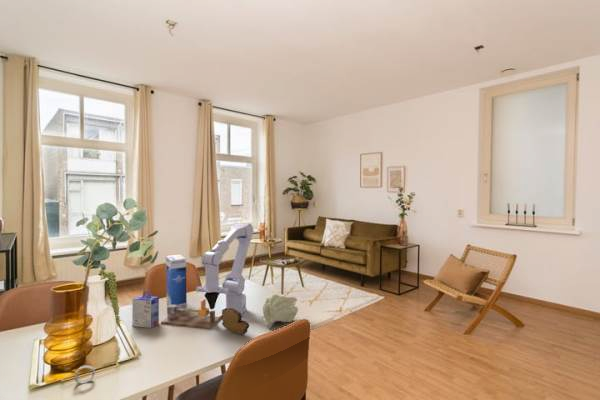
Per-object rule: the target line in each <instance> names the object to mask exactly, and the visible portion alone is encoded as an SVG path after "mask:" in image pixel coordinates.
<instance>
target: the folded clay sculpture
mask: <svg viewBox="0 0 600 400" xmlns="http://www.w3.org/2000/svg"><path fill="white" fill-rule="evenodd" d="M297 301H298V298H296V297H294V296H285V295H283V296H280V295H278V294H273V295H272V296H271V297H268V298H266V299H265V302H264V303H263V307H262V312H263V313H262V314H263V316H262V319H263V322H264V324H265V326H266V328H268V329H271V328H272V327H273V325H274V324H275V322H282V323H292V321H293V320H294V319H295V317H296V315H297V314H298V312H299V308H298V307H297V306H295V305H296V303H297Z"/></svg>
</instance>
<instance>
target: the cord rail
mask: <svg viewBox="0 0 600 400" xmlns="http://www.w3.org/2000/svg"><path fill="white" fill-rule="evenodd" d="M166 309H167V312H166V314H167V317H165V318H164V319H163V320H161V321H160V324H161V325H166V326H167V325H168V326H169V325H170V326H179V327H188V328H197V329H207V330H211V329H212V328H213V327H214V326H215V325H216V324H217V323H219V321H221V319H220V318H219V317H220V316H216V310H209V311H206V313H208V315H207V316H206V317H205V316H198V309H188V308H187V309H179V308H178V307H177V305H172V304H171V305H169V306H166ZM178 312H179V313H178ZM181 312H187V313H181ZM188 312H189V313H188ZM191 313H197V314H191Z"/></svg>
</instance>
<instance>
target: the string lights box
mask: <svg viewBox="0 0 600 400" xmlns="http://www.w3.org/2000/svg"><path fill="white" fill-rule="evenodd" d="M165 281H166V282H165V284H166V285H165V286H166V287H165V288H166V305H167V306H166V307H168V306H169V305H171V304H172V305H177V307H178V308H179V309H188V308H187V305H188V303H187V259H186V258H185V257H184V256H183V255H181V254H179V253H178V254H173V255H170V254H169V255H166V256H165Z"/></svg>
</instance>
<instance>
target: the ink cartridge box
mask: <svg viewBox="0 0 600 400" xmlns="http://www.w3.org/2000/svg"><path fill="white" fill-rule="evenodd" d="M131 303H132V309H131V310H132V316H131V317H132V319H131V320H132V321H131V322H132V324H131V325H132V327H139V328H148V329H151V328H153V327H155V326H157V325H159V324H160V319H159V318H160V314H159V313H160V310H159V309H160V297H159V296H152V291H147V290H145V291H143V295H139V296H136V297H134V298H133V299H132V301H131Z"/></svg>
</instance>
